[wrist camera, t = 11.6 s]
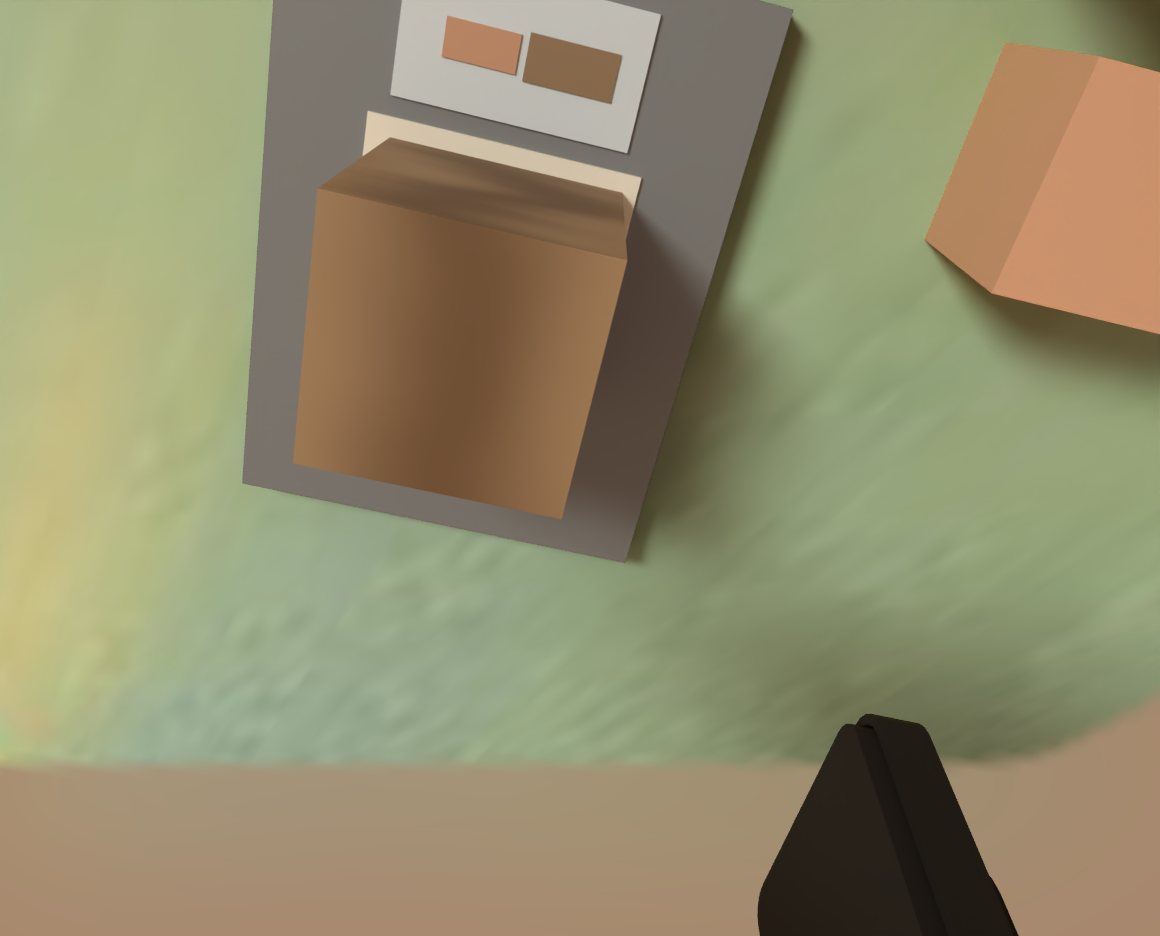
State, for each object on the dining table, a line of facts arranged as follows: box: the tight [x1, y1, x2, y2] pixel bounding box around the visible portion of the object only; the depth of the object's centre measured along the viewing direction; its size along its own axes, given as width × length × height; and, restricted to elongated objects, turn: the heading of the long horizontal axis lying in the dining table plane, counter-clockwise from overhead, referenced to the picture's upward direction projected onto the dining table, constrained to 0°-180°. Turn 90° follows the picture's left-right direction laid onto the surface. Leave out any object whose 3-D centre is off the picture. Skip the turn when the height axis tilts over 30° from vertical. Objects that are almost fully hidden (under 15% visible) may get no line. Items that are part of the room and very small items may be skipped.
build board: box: [242, 0, 793, 563], centre depth 25 cm, size 12×16×1 cm
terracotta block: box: [925, 43, 1160, 334], centre depth 22 cm, size 5×5×5 cm
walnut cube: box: [293, 137, 627, 519], centre depth 22 cm, size 6×6×6 cm
